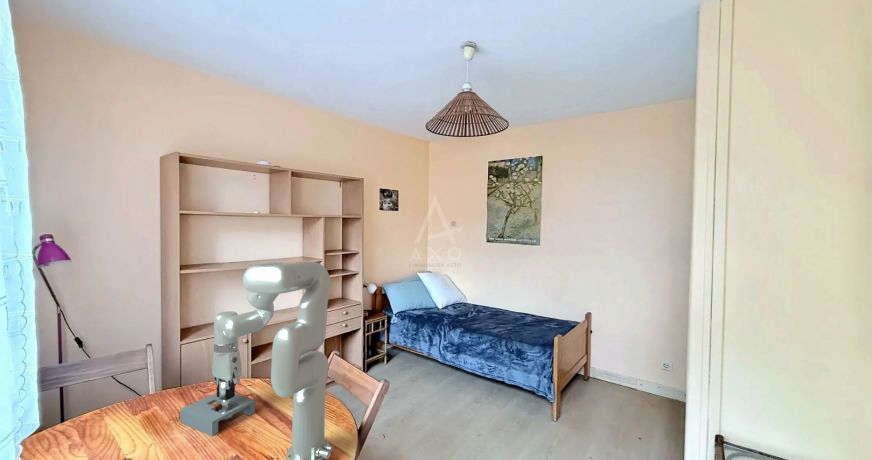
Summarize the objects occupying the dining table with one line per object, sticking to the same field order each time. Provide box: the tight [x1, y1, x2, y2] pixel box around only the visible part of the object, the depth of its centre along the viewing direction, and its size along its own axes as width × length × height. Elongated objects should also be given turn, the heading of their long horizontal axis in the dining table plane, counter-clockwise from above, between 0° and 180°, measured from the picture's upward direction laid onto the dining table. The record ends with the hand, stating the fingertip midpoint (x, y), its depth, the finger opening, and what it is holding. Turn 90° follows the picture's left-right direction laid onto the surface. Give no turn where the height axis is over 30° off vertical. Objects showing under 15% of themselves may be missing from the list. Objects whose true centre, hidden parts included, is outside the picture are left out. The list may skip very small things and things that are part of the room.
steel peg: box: [217, 380, 234, 421], centre depth 125 cm, size 5×5×13 cm
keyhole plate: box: [179, 392, 256, 437], centre depth 126 cm, size 18×16×5 cm
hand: (225, 396), depth 125 cm, fingers closed on steel peg, 4 cm apart
